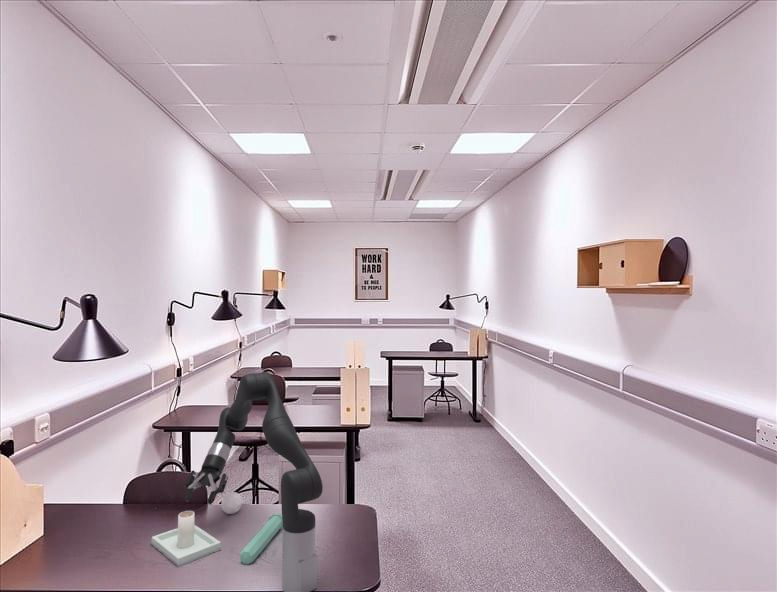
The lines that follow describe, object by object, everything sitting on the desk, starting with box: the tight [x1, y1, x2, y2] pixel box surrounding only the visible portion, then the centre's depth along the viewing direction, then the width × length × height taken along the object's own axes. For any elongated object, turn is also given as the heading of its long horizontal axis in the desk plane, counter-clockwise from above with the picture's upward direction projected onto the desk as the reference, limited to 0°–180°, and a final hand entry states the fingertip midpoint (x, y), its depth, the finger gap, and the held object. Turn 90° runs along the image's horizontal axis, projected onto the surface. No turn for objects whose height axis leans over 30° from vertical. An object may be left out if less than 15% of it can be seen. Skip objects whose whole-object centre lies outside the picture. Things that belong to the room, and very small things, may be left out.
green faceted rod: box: [239, 513, 283, 565], centre depth 164 cm, size 6×6×25 cm
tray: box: [151, 524, 222, 568], centre depth 162 cm, size 20×14×2 cm
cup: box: [177, 510, 196, 548], centre depth 162 cm, size 5×5×10 cm
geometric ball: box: [220, 491, 243, 515], centre depth 189 cm, size 8×8×8 cm
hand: (197, 502), depth 169 cm, fingers open, 8 cm apart
